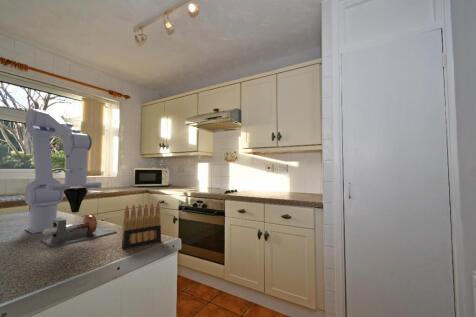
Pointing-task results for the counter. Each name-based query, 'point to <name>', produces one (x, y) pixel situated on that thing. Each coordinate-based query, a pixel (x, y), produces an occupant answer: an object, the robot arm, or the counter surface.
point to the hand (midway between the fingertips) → (75, 212)
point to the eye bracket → (72, 234)
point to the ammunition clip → (135, 229)
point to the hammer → (77, 226)
